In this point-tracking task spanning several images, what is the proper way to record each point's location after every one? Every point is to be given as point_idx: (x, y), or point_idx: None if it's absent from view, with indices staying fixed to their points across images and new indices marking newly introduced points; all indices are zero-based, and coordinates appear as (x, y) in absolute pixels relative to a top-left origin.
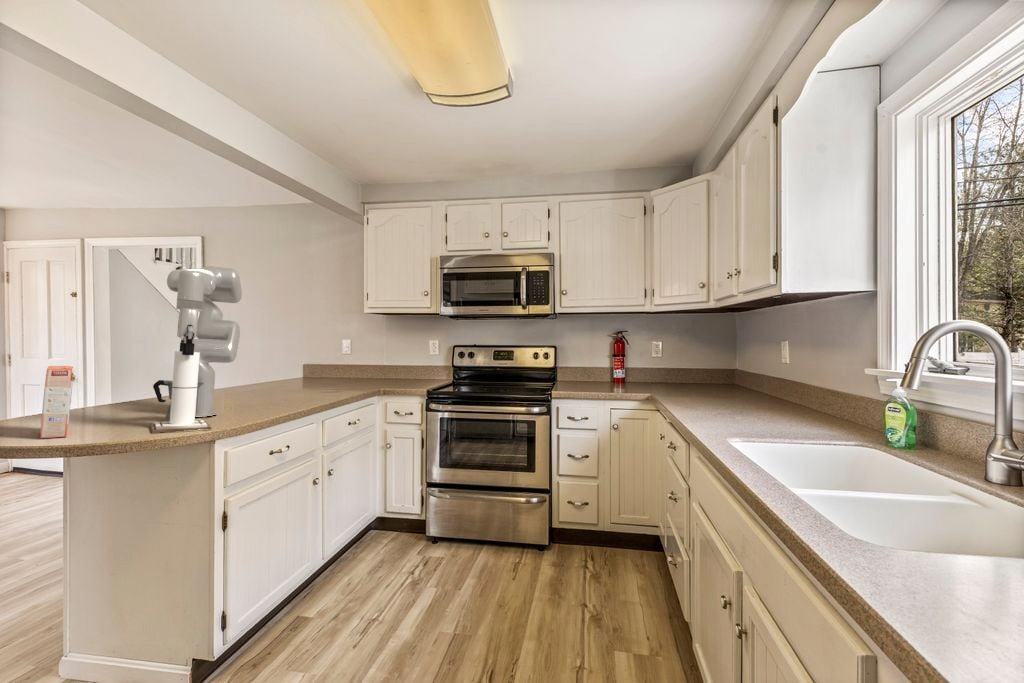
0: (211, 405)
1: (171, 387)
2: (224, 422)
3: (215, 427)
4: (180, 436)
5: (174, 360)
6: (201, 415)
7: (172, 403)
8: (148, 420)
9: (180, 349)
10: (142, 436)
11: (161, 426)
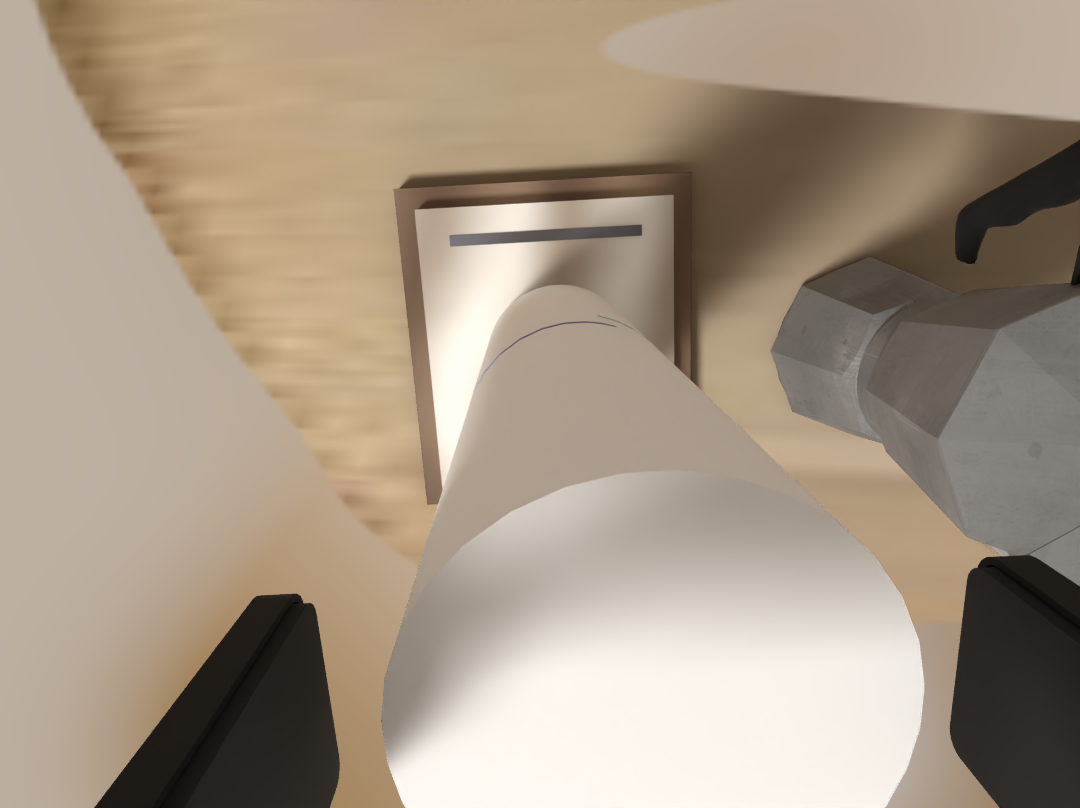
0: None
1: (992, 314)
2: None
3: None
4: (249, 338)
5: (589, 406)
6: None
7: (526, 311)
8: (993, 154)
9: (1038, 620)
10: (307, 137)
11: (443, 237)
